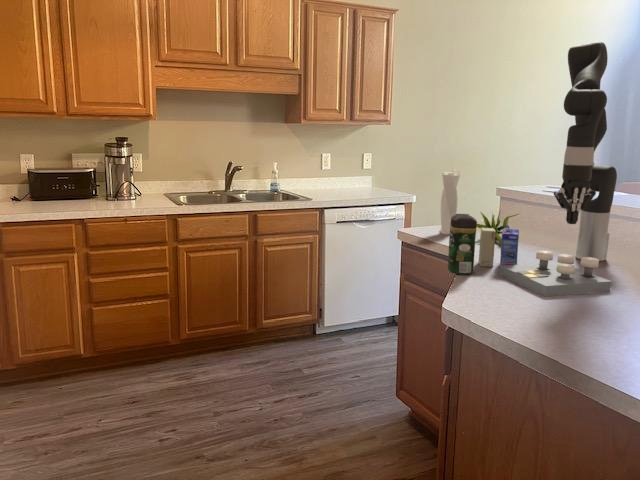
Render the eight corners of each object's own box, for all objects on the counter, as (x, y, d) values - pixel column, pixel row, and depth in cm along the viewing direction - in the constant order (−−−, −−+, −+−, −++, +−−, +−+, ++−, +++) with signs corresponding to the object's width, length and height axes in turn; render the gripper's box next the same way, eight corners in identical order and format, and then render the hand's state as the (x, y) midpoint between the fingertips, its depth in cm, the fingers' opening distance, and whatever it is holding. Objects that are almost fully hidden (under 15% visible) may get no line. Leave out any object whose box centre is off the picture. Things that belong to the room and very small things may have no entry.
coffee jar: (445, 267, 184) (449, 211, 180) (470, 268, 184) (474, 212, 180) (449, 275, 175) (453, 216, 171) (474, 276, 174) (479, 217, 170)
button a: (565, 269, 178) (567, 254, 177) (576, 273, 173) (578, 257, 172) (552, 270, 177) (554, 254, 175) (563, 274, 172) (565, 258, 171)
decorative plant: (459, 247, 214) (462, 209, 211) (487, 235, 238) (490, 201, 234) (506, 254, 204) (509, 215, 201) (530, 241, 227) (533, 205, 224)
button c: (544, 265, 175) (546, 250, 174) (554, 269, 171) (556, 253, 170) (531, 266, 174) (533, 250, 173) (541, 270, 170) (543, 254, 169)
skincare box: (493, 267, 185) (496, 231, 182) (479, 266, 186) (482, 230, 183) (491, 262, 191) (494, 227, 188) (478, 261, 192) (481, 227, 189)
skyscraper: (459, 236, 236) (464, 169, 230) (440, 235, 236) (444, 169, 230) (455, 232, 244) (459, 168, 238) (436, 231, 244) (440, 167, 238)
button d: (565, 279, 166) (567, 263, 165) (577, 283, 162) (579, 267, 161) (552, 280, 165) (553, 263, 164) (563, 284, 161) (565, 268, 159)
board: (559, 271, 182) (560, 261, 181) (610, 291, 161) (611, 280, 160) (500, 275, 176) (500, 264, 175) (544, 296, 155) (546, 285, 155)
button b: (588, 272, 168) (590, 256, 167) (600, 277, 164) (602, 260, 162) (575, 273, 167) (577, 257, 166) (587, 277, 162) (589, 261, 161)
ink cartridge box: (499, 262, 192) (503, 221, 189) (516, 264, 190) (520, 222, 187) (498, 269, 182) (502, 226, 179) (516, 271, 181) (520, 227, 178)
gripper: (588, 161, 162) (581, 220, 165) (549, 162, 158) (543, 222, 162) (607, 164, 155) (600, 225, 158) (567, 164, 151) (560, 227, 155)
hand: (571, 223), depth 160 cm, fingers closed
